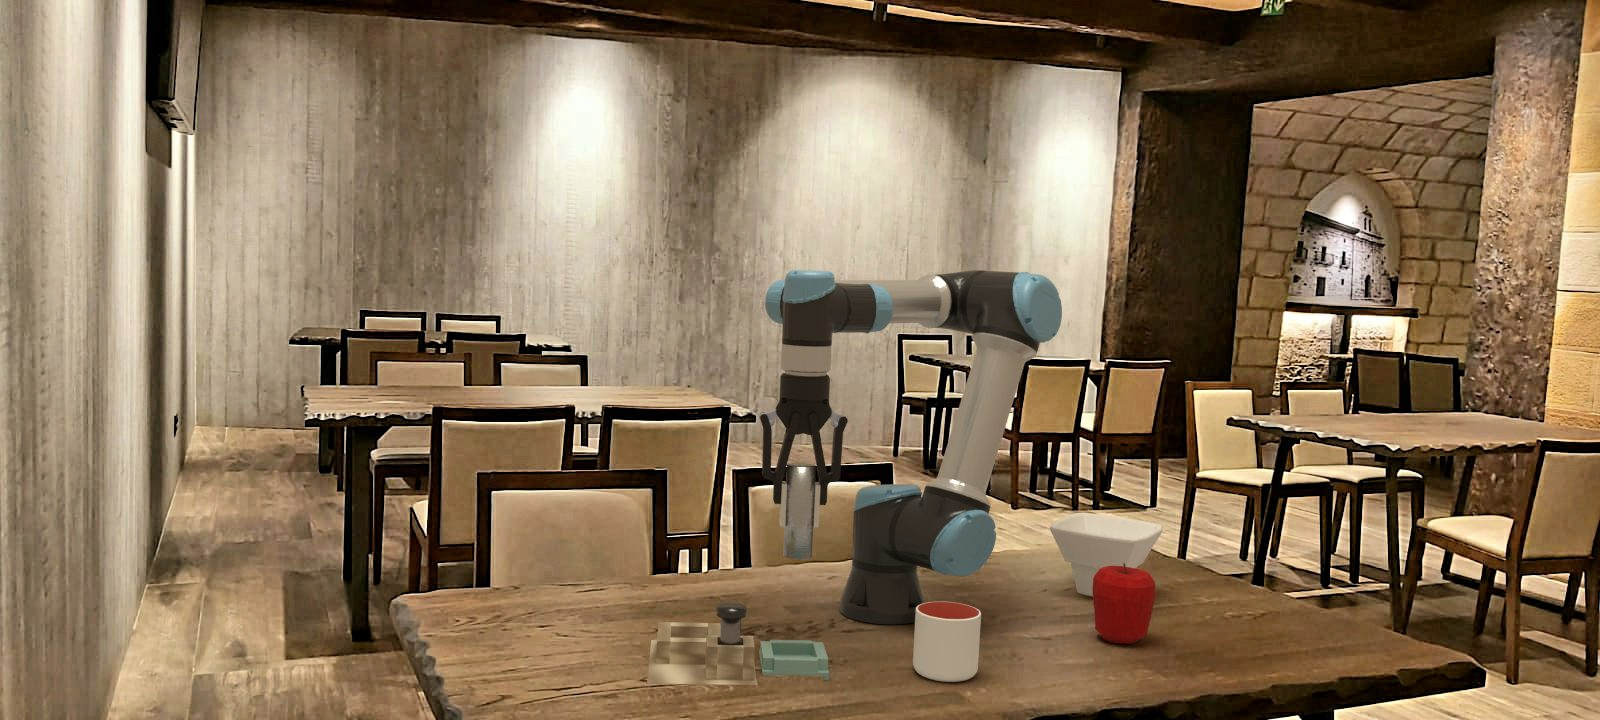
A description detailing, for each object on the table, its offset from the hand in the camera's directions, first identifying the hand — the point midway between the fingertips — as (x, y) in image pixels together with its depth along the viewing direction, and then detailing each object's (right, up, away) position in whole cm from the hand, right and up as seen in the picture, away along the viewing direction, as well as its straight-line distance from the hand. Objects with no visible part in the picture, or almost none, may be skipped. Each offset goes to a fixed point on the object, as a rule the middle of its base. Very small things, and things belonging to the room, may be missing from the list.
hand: (798, 525), depth 195 cm
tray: (-1, -22, +2) cm, 22 cm away
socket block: (-15, -22, +2) cm, 27 cm away
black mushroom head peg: (-10, -21, -4) cm, 23 cm away
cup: (+23, -24, +3) cm, 33 cm away
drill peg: (0, -5, 0) cm, 5 cm away
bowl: (+59, -21, +52) cm, 81 cm away
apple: (+55, -23, +24) cm, 64 cm away
